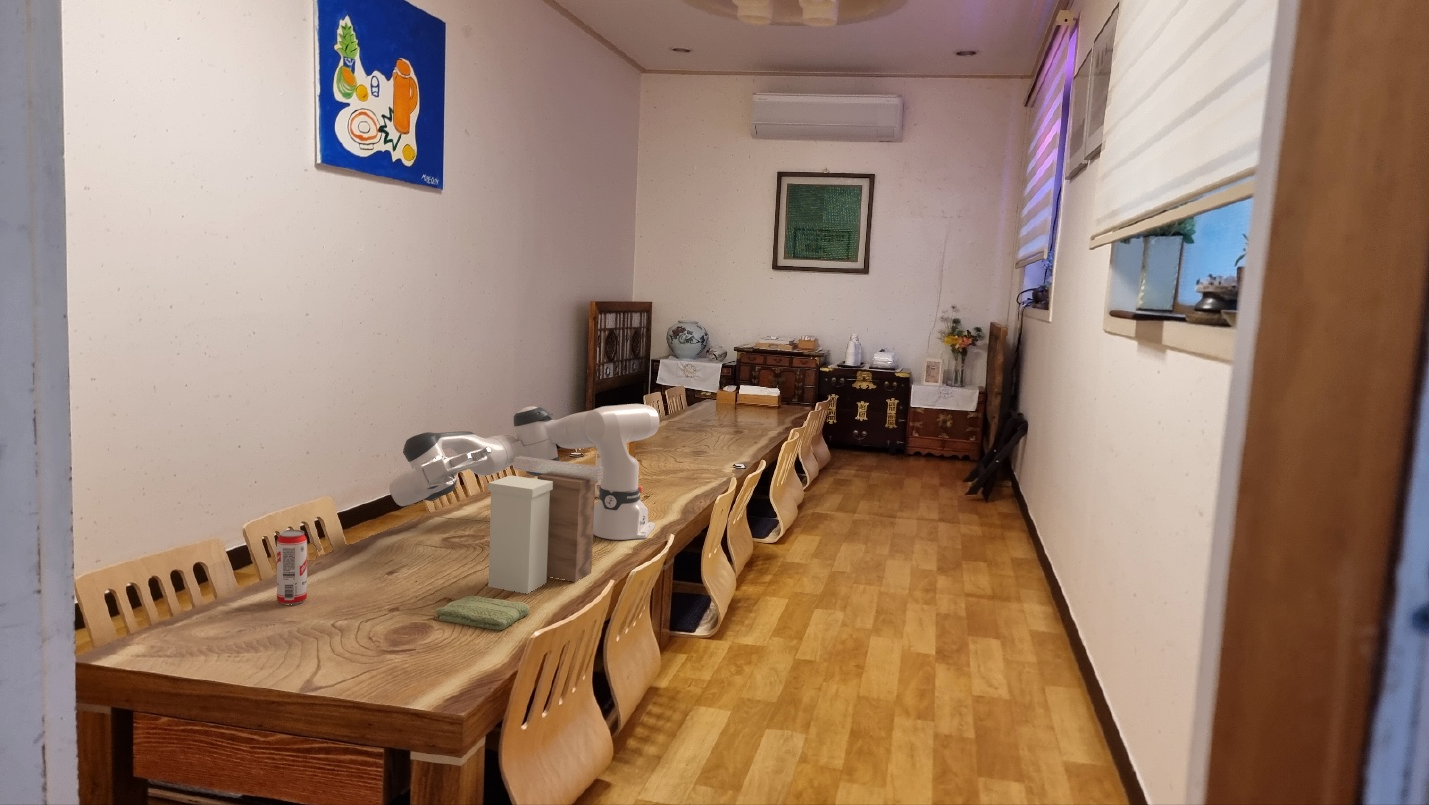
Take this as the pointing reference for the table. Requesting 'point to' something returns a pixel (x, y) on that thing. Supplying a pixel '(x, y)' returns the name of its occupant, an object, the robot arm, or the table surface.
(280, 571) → the beer can
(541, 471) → the bar
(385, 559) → the table surface
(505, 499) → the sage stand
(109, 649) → the table surface
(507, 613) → the washcloth
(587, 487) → the walnut stand
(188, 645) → the table surface
